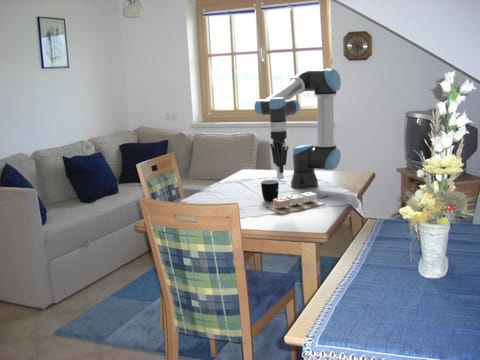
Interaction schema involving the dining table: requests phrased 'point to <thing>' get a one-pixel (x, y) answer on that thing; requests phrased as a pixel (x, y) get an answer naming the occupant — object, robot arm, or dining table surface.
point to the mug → (269, 190)
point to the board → (296, 207)
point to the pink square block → (281, 202)
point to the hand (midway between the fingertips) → (280, 178)
